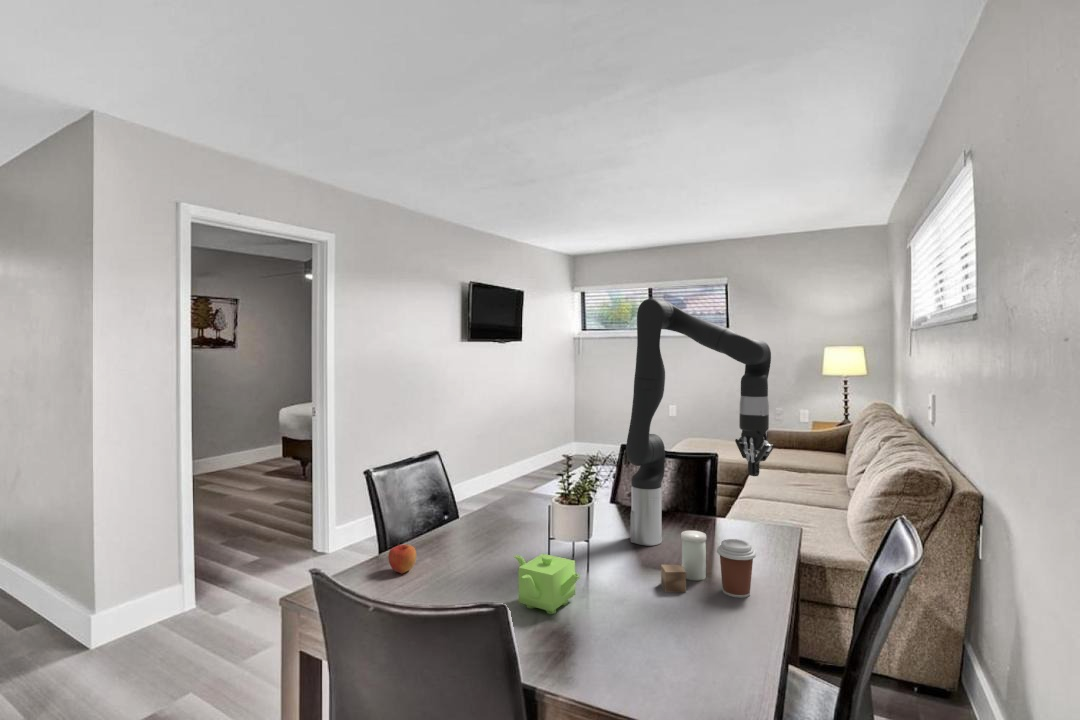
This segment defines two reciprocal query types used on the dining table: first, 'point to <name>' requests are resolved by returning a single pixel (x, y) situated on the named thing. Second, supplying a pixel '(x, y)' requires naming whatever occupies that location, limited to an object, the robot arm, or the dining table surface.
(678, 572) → the walnut block
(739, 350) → the robot arm
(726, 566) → the coffee cup
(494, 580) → the dining table surface
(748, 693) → the dining table surface
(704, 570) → the canister
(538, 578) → the kettle
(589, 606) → the dining table surface
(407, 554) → the apple
